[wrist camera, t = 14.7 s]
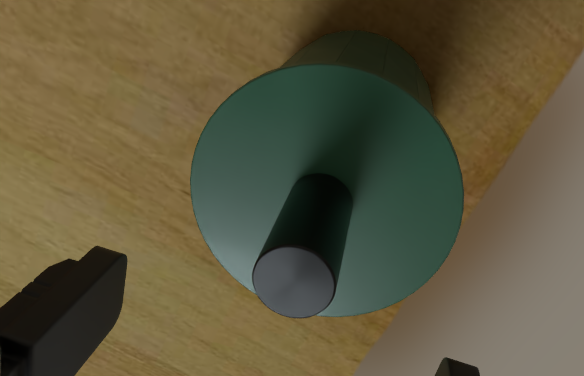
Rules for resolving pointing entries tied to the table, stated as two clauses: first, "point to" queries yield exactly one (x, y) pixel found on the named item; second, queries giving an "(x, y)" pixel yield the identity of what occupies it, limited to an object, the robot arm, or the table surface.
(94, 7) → the table surface
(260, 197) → the lid
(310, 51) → the tin
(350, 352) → the table surface
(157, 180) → the table surface
